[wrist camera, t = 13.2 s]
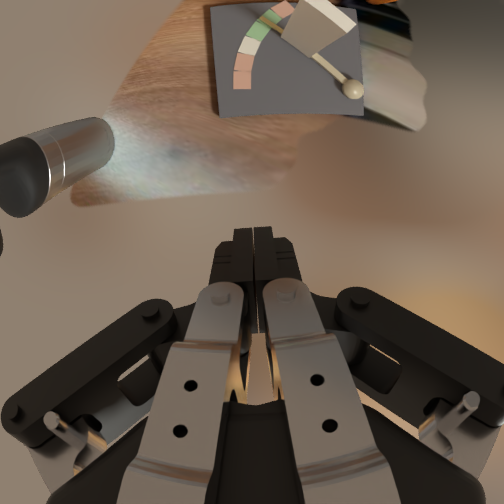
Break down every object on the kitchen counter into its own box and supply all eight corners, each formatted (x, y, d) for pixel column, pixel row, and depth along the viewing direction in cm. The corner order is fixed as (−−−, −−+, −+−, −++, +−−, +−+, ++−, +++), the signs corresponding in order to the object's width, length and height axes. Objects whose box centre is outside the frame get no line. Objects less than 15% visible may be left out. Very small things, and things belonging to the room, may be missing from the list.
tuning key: (253, 24, 27) (256, -21, 13) (267, 11, 26) (278, -38, 12) (352, 102, 33) (410, 109, 19) (364, 89, 32) (427, 91, 18)
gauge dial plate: (220, 117, 36) (219, 118, 34) (211, 7, 26) (209, 4, 25) (359, 115, 35) (363, 115, 34) (351, 9, 26) (355, 6, 24)
